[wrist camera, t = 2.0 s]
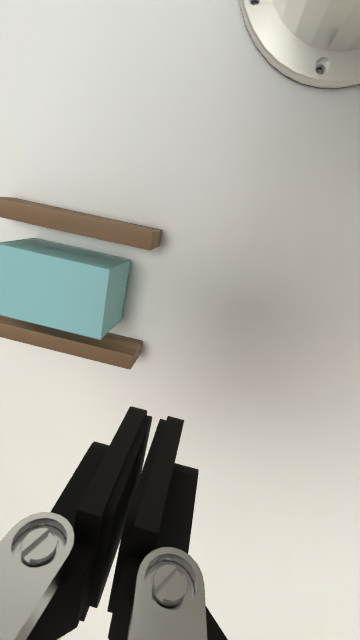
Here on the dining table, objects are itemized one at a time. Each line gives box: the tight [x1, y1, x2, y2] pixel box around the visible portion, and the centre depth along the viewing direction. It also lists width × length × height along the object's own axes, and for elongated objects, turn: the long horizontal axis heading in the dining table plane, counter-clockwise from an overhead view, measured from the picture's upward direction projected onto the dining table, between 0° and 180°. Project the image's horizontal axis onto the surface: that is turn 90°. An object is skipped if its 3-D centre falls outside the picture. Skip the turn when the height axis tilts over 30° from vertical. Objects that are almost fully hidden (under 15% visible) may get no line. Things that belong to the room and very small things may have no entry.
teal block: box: [0, 238, 131, 340], centre depth 25 cm, size 5×8×5 cm, turn 77°
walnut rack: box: [0, 197, 162, 369], centre depth 26 cm, size 10×12×3 cm
